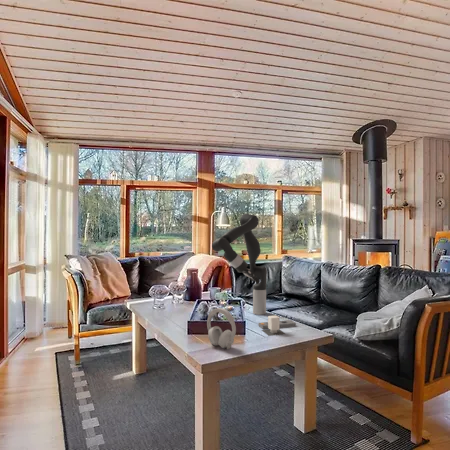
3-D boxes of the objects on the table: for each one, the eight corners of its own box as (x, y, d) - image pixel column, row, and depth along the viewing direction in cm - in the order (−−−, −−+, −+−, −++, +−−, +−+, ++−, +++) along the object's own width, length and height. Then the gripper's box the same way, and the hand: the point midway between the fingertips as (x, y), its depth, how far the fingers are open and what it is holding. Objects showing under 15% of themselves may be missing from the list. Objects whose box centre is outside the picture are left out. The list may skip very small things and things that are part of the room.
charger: (268, 331, 214) (268, 316, 214) (275, 330, 216) (275, 315, 216) (271, 333, 209) (271, 318, 209) (279, 333, 211) (279, 317, 211)
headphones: (202, 344, 193) (202, 306, 193) (213, 340, 199) (213, 304, 199) (229, 353, 180) (229, 313, 180) (239, 349, 186) (240, 310, 186)
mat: (261, 331, 216) (261, 330, 216) (278, 329, 219) (278, 328, 219) (268, 336, 206) (268, 335, 206) (286, 335, 209) (286, 334, 209)
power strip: (258, 326, 225) (258, 322, 225) (290, 324, 231) (290, 319, 231) (262, 330, 218) (262, 325, 218) (295, 327, 224) (295, 322, 224)
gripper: (246, 259, 215) (264, 278, 218) (238, 257, 229) (255, 274, 232) (237, 269, 214) (256, 287, 217) (230, 266, 227) (247, 283, 231)
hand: (255, 281), depth 225 cm, fingers open, 8 cm apart
